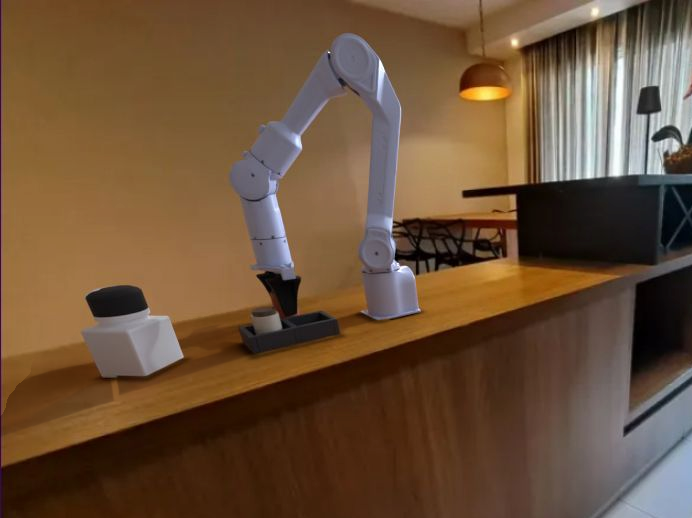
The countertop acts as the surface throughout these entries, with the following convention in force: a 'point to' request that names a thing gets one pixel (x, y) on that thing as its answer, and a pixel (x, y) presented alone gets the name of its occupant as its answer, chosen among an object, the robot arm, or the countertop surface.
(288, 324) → the holder
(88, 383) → the countertop surface
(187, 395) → the countertop surface
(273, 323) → the cream jar
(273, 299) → the spice bottle
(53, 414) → the countertop surface
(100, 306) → the medicine bottle
